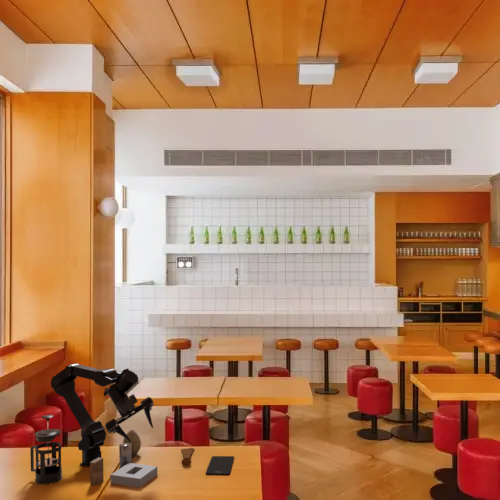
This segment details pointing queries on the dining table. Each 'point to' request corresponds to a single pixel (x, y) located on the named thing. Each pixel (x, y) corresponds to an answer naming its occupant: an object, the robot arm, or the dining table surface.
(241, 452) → the dining table surface
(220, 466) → the cell phone
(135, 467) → the slotted block
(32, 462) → the french press
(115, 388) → the robot arm
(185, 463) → the primitive tool
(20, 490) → the dining table surface
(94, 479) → the walnut bar
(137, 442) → the decorative egg
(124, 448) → the round metal peg
